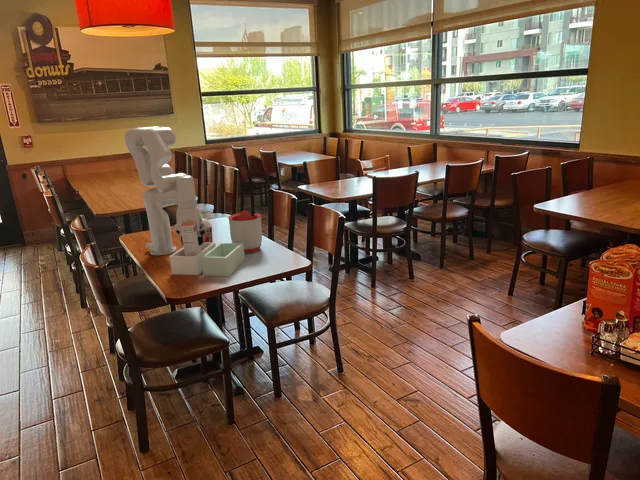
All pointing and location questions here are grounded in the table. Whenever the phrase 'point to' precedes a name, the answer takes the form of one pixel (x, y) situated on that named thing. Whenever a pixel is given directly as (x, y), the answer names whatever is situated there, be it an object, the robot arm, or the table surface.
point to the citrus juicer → (246, 230)
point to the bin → (223, 259)
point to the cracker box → (190, 239)
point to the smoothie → (208, 234)
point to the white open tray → (189, 261)
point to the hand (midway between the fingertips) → (192, 244)
